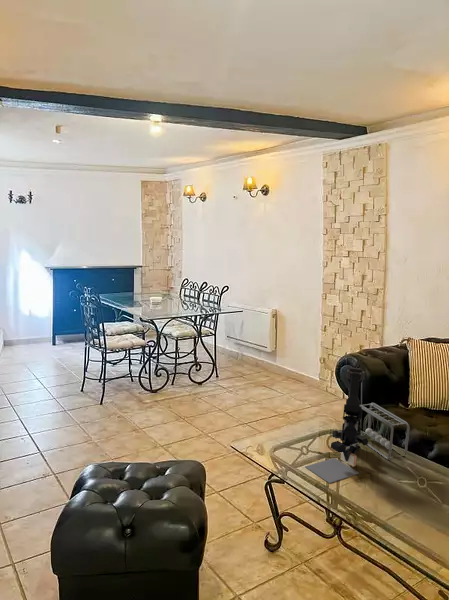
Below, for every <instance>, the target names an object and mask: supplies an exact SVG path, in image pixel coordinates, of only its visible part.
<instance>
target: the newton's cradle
mask: <svg viewBox="0 0 449 600" xmlns="http://www.w3.org/2000/svg"><path fill="white" fill-rule="evenodd" d="M360 406H361V407H362V411H364V412H366V413H367V414H368V417H367V420H368V421H367V423H368V425H367V428H366V429H365V434H367V435H366V436H370V438H371V439H373V440H375V441H376V442H377V443H379V444H380V445H381V446H383V447H385V448H386V449H387V450H388V454H387V455H388V457H387V456H386V454H383V452H380V450H378V449H377V448H375V447H373V446H372V444H370V443H368V446H369V447H368V446H367V447H368V448H369V449H371V448H372V449H371V450H373V451H374V450H375V451H376V452H375V451H374V452H375V453H377V452H378V453H379V454H380V456H381V455H382V456H383V457H382V456H381V457H382V458H384V459H385V458H386V459H385V460H387V461H389V460H391V459H392V458H391V457H392V451H393V450H392V447H393V437H394V428H395V426H399V425H406V436H405V445H404V446H405V447H404V454H405V455H407V456H408V447H409V439H410V438H409V437H410V430H411V429H410V428H411V426H410V424H409V423H408V422H407V421H406V420H404V419H402V418H401V417H399V416H397V415H395V414H394V413H392V412H391V411H389V410H386V409H385V408H384V407H382V406H380V405H378V404H377V403H375V402H371V403H367V404H366V403H365V404H360ZM366 406H369V408H367V407H366ZM373 408H374V411H373ZM376 409H377V410H378V411H379V413H378V414H377V413H376V411H377V410H376ZM381 412H382V413H383V414H384V416H383V417H382V416H380V415H381ZM386 415H387V416H388V417H389V419H388V420H387V419H386ZM374 418H376V419H377V420H376V421H377V422H376V424H379V421H380V422H381V423H382V425H381V427H380V428H381V429H380V430H383V427H384V424H385V425H386V433H388V430H389V429H388V427H389V428H390V433H389V436H390V437H387V438H388V439H387V438H386V436H387V434H382V435H383V436H382V435H381V432H382V431H380V430H379V429H372V428H371V427H372V425H373V428H378V425H376V426H375V425H374ZM391 418H392V419H393V420H394V421H397V422H398V423H396V422H394V423H392V422H390V421H391V420H390V419H391ZM372 423H373V424H372ZM379 431H380V432H379ZM393 448H394V447H393ZM378 453H377V454H378ZM379 454H378V455H379ZM404 454H403V455H404Z"/></svg>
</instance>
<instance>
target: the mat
mask: <svg viewBox="0 0 449 600" xmlns="http://www.w3.org/2000/svg"><path fill="white" fill-rule="evenodd" d="M304 468H305V469H306V470H309V471H310V472H311V473H313V474H314V475H316V476H317V477H319V478H320V479H322V480H323V481H325V482H326V483H327V484H332V483H335V482H339V481H341V480H345V479H347V478H350V477H351V478H352V477H353V476H356V475H360V472H359V471H357V470H356V469H354V468H353V467H352V466H350V465H348V464H347V463H345V462H342V460H340V459H337V458H336V457H333V458H332V457H331V458H328V459H325V460H322V461H318V462H315V463H312V464H309V465H305V466H304Z"/></svg>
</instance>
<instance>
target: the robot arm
mask: <svg viewBox="0 0 449 600" xmlns="http://www.w3.org/2000/svg"><path fill="white" fill-rule="evenodd" d="M346 378H347V381H348V384H349V393H348V394H349V395H348V397H347V398H346V399H345V404H344V405H343V415H342V420H344V422H343V423H342V428H341V429H340V430H336V429H335V430H332V432H331V435H332V438H334V439H335V440H336V441H332V442H331V443H330V449H332V450H333V451H336V452H338V453H340V454H341V452H343V454H344V457H345V460H346V461H348V459H349V456H350V453H353V454H354V455H356V454H357V452H358V451H359V450H360V449H361V446H360V445H359V444H360V443H361V444H362V446H367V445H368V444H369V439H368V438H367V437H365V436H364V435H363V434H362V428H361V425H359V423H361V420H362V417H363V410H362V407H363V406H362V407H361V406H360V405H361V401H360V399H359V389H360V386H361V384H362V383H363V381H365V371H363V368H358V367H349V369H347V371H346ZM337 439H340V441H339V440H337Z"/></svg>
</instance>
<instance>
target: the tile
mask: <svg viewBox="0 0 449 600" xmlns="http://www.w3.org/2000/svg"><path fill="white" fill-rule="evenodd" d="M340 461H341V462H342V461H343V463H345V464H346V465H348V466H350V467H351V468H354V467H356V465H357V455H356V454H355V455H354V454H353V453H350V456H349V459H348V461H346V460H345V457H344V454H343V452H341V453H340Z"/></svg>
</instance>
